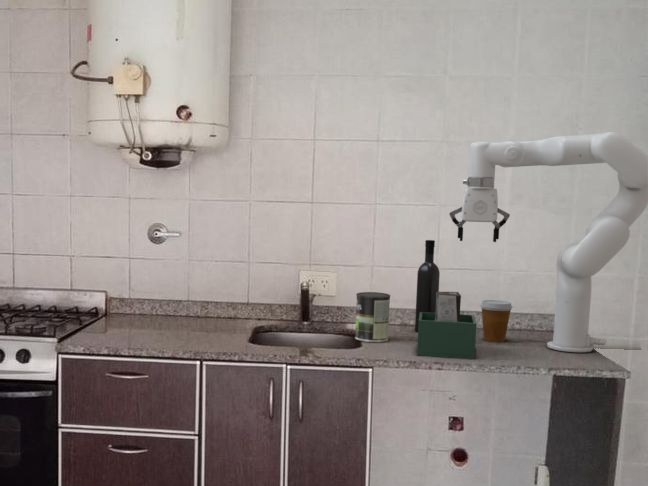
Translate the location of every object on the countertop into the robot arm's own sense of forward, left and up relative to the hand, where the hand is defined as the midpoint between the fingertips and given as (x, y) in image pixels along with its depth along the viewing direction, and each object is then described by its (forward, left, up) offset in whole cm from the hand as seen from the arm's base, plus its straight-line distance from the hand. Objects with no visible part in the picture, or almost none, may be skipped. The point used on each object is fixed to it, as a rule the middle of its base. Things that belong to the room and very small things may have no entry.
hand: (477, 241), depth 244 cm
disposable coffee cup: (-7, -9, -32) cm, 34 cm away
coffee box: (+8, +15, -31) cm, 35 cm away
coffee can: (+30, +3, -32) cm, 44 cm away
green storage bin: (+8, +15, -31) cm, 36 cm away
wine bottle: (+14, -17, -32) cm, 38 cm away
